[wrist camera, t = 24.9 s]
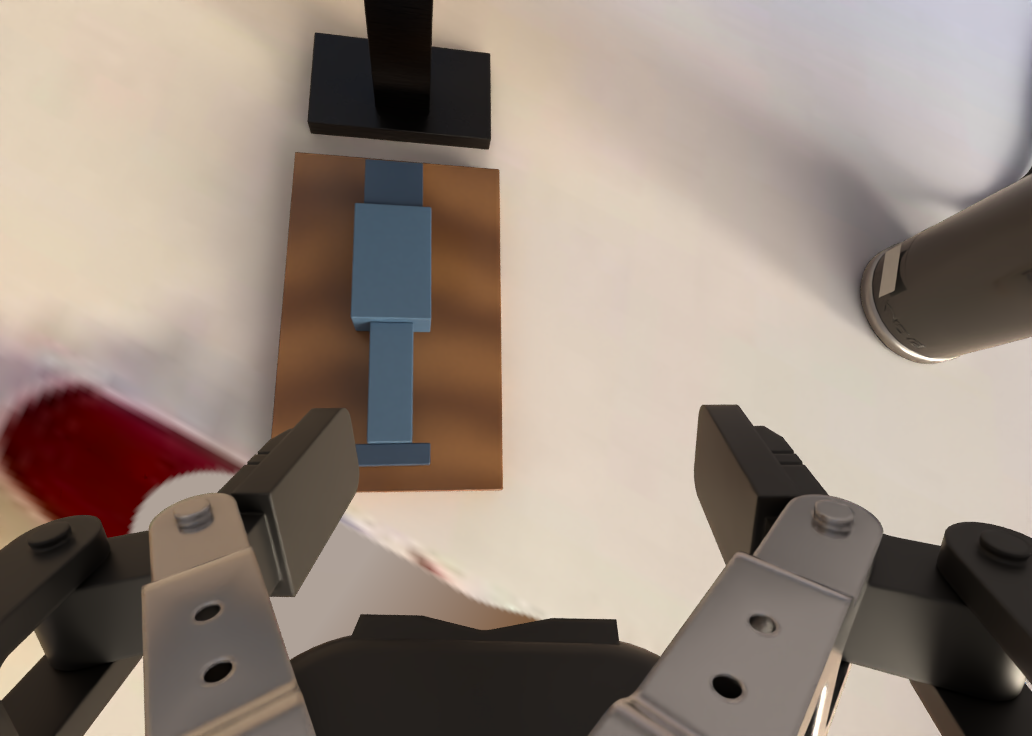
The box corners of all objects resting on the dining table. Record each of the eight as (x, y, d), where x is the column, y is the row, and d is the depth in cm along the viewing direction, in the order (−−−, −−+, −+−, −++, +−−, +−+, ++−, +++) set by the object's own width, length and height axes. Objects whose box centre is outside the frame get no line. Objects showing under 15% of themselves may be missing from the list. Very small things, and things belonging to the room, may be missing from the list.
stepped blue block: (430, 465, 32) (431, 463, 29) (350, 467, 31) (344, 465, 29) (430, 184, 36) (431, 161, 33) (360, 180, 35) (356, 156, 33)
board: (499, 490, 34) (502, 489, 32) (273, 493, 32) (266, 493, 30) (496, 182, 39) (499, 168, 37) (300, 166, 36) (295, 151, 35)
